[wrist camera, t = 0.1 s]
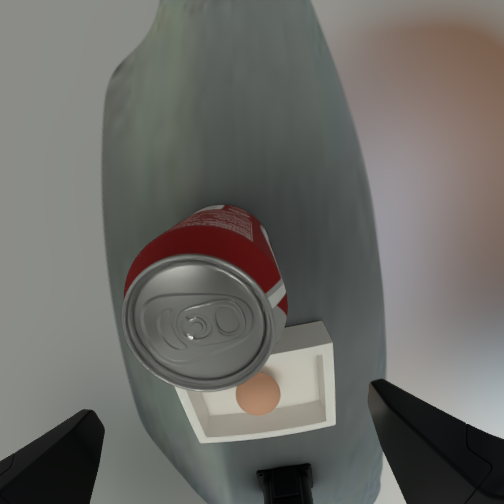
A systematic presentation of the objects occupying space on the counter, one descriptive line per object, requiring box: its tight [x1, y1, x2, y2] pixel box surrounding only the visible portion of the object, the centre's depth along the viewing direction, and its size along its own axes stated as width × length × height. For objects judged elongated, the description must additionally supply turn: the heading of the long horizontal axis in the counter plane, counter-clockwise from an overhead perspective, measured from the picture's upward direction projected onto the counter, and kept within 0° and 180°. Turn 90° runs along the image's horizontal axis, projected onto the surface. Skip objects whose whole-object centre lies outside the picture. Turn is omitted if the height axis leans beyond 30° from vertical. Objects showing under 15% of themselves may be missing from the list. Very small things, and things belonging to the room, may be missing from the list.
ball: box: [236, 373, 281, 416], centre depth 22 cm, size 4×4×4 cm
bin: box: [175, 321, 336, 443], centre depth 22 cm, size 9×12×4 cm
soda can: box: [122, 205, 288, 392], centre depth 16 cm, size 7×7×12 cm
